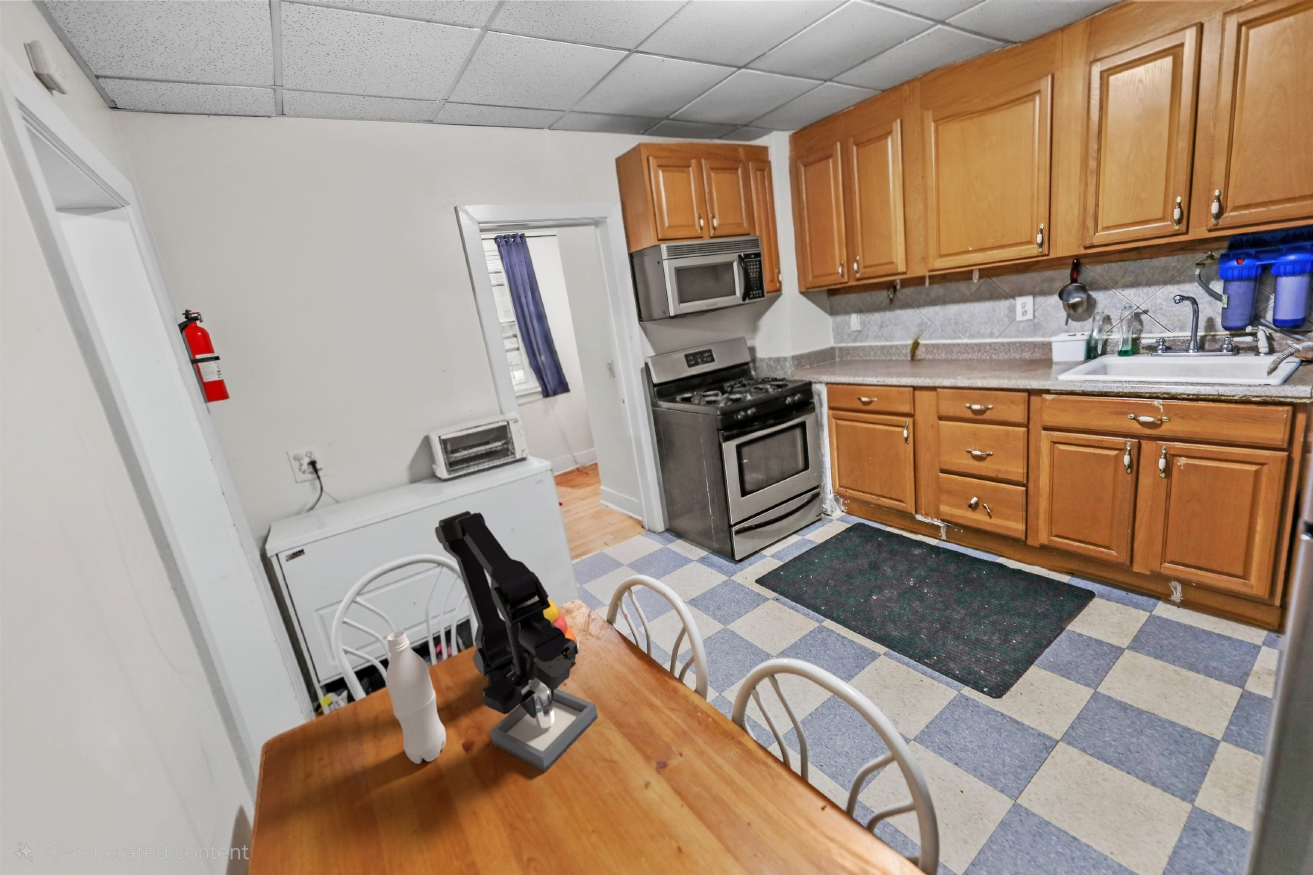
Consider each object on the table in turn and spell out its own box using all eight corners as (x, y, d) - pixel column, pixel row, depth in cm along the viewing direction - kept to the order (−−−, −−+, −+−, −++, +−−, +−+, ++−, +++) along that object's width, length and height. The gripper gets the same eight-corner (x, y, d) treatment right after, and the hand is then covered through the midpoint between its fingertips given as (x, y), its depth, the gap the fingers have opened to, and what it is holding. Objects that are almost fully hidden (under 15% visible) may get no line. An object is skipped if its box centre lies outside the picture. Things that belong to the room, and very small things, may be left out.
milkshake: (544, 707, 105) (534, 664, 103) (563, 718, 102) (552, 673, 100) (526, 723, 102) (515, 679, 100) (544, 734, 99) (533, 689, 96)
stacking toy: (561, 631, 135) (547, 560, 130) (592, 654, 124) (577, 577, 119) (508, 660, 126) (491, 584, 122) (536, 687, 115) (519, 605, 111)
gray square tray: (493, 744, 101) (489, 730, 100) (546, 696, 112) (543, 683, 111) (545, 772, 93) (542, 757, 92) (597, 717, 104) (595, 704, 103)
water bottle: (434, 769, 97) (400, 647, 91) (399, 767, 98) (364, 647, 93) (456, 738, 104) (426, 623, 98) (423, 737, 105) (392, 623, 100)
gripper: (516, 681, 86) (534, 762, 89) (592, 619, 101) (605, 690, 104) (472, 663, 92) (491, 739, 96) (550, 607, 107) (563, 675, 111)
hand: (541, 709), depth 101 cm, fingers closed on milkshake, 4 cm apart
